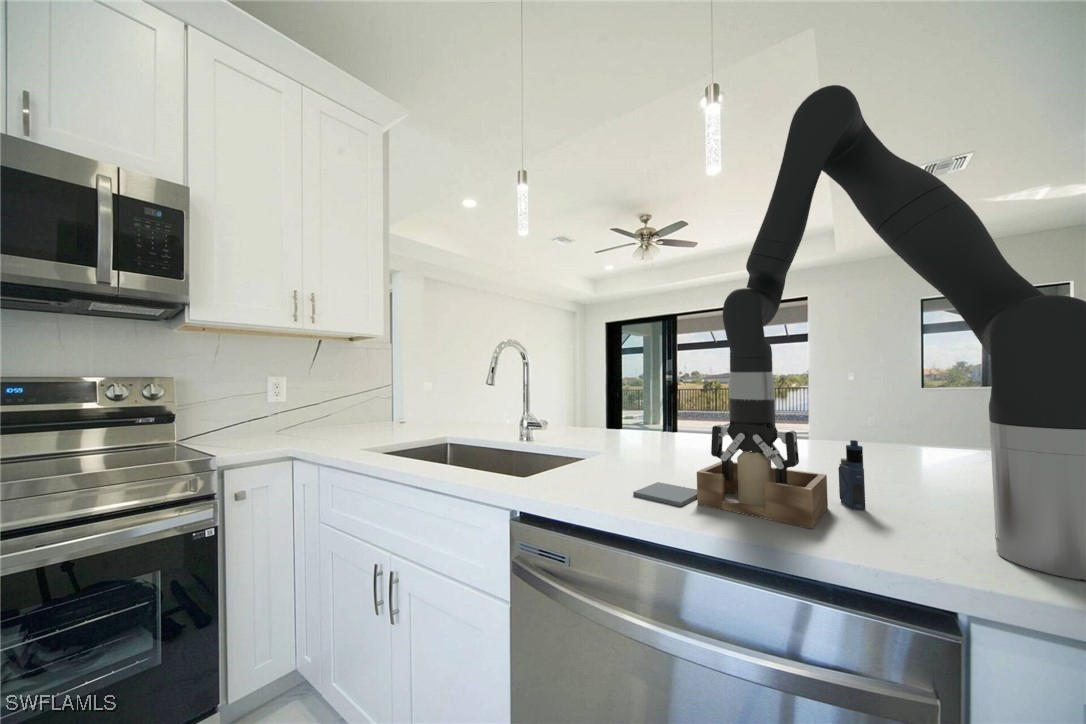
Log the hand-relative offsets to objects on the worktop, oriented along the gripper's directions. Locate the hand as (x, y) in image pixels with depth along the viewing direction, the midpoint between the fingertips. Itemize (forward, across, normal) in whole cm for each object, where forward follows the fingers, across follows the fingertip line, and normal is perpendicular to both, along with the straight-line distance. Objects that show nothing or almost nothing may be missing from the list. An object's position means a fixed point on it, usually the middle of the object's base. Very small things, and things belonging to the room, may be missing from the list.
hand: (753, 484), depth 74 cm
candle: (+4, 0, 0) cm, 4 cm away
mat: (+4, +14, +5) cm, 16 cm away
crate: (+4, -1, 0) cm, 4 cm away
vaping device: (+4, -13, -11) cm, 18 cm away
